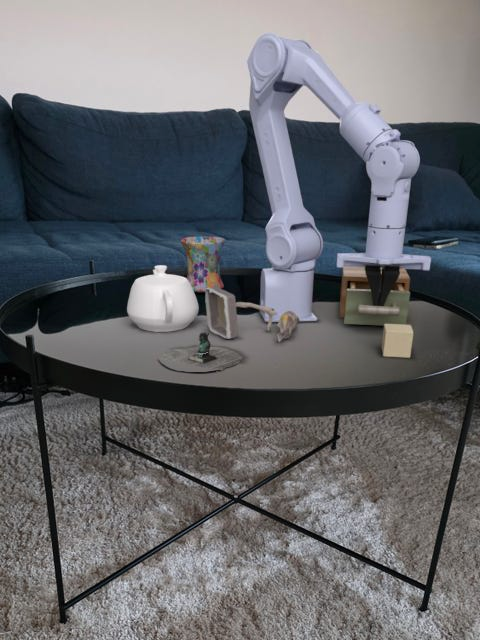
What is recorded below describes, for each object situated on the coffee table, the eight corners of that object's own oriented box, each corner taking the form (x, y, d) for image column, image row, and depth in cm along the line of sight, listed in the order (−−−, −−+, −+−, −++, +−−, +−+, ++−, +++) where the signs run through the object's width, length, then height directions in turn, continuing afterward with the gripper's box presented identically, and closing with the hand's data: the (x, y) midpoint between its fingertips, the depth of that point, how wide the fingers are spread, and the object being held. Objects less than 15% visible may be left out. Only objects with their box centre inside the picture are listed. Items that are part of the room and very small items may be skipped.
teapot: (124, 311, 112) (119, 256, 108) (188, 307, 115) (187, 254, 110) (132, 343, 94) (127, 279, 90) (208, 338, 97) (207, 275, 93)
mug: (228, 294, 125) (228, 242, 120) (184, 296, 123) (182, 243, 119) (220, 282, 135) (219, 234, 131) (179, 283, 134) (177, 235, 129)
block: (410, 358, 89) (413, 332, 87) (382, 356, 89) (386, 330, 88) (407, 349, 92) (410, 324, 91) (381, 348, 93) (384, 323, 91)
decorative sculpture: (297, 327, 103) (299, 284, 100) (307, 344, 95) (310, 298, 91) (205, 328, 102) (204, 285, 99) (206, 345, 94) (205, 299, 90)
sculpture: (246, 350, 92) (243, 322, 85) (236, 403, 89) (232, 378, 82) (172, 341, 94) (163, 313, 87) (159, 392, 90) (148, 367, 83)
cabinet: (404, 320, 107) (410, 278, 104) (340, 317, 109) (343, 276, 106) (398, 303, 118) (403, 265, 115) (340, 301, 120) (343, 263, 117)
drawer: (408, 335, 96) (413, 299, 94) (344, 331, 98) (347, 297, 95) (399, 309, 111) (403, 278, 108) (343, 307, 112) (346, 276, 110)
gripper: (339, 228, 90) (333, 316, 96) (438, 231, 88) (425, 320, 94) (339, 223, 96) (333, 306, 102) (431, 225, 94) (420, 309, 100)
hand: (377, 312), depth 98 cm, fingers closed, pressing on drawer
